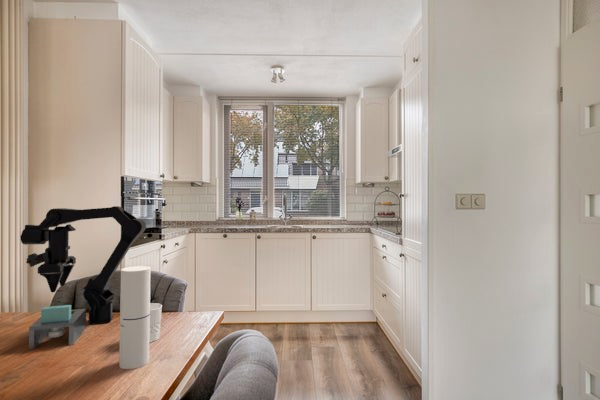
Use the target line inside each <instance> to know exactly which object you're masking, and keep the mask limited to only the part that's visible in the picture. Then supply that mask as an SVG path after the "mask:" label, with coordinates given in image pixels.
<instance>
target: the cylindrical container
mask: <svg viewBox="0 0 600 400" xmlns="http://www.w3.org/2000/svg"><path fill="white" fill-rule="evenodd" d="M151 268H152V267H150V266H147V265H146V266H145V265H137V266H135V265H134V266H127V267H123V268H121V269H120V296H119V297H120V302H119V303H120V305H119V306H120V307H119V309H120V310H119V311H120V312H119V361H118V363H119V364H118V365H119V368H120V369H122V370H134V369H139V368H143V367H145V366H146V365H147V364H149V362H150V342H149V339H150V303H151V270H152V269H151Z"/></svg>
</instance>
